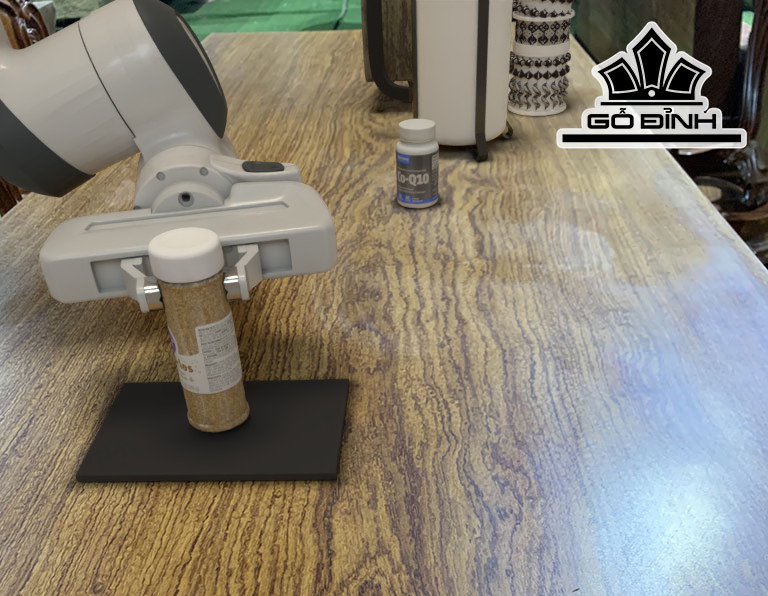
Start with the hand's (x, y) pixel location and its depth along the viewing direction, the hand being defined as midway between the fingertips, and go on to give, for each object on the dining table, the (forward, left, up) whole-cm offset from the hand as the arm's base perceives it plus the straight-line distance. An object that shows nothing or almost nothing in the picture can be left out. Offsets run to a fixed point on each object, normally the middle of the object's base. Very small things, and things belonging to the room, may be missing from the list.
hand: (194, 296), depth 53 cm
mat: (0, +1, -11) cm, 11 cm away
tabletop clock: (+11, +88, -11) cm, 89 cm away
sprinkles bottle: (0, +1, -10) cm, 10 cm away
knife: (+29, +110, -11) cm, 114 cm away
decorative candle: (+31, +82, -11) cm, 88 cm away
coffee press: (+18, +66, -11) cm, 69 cm away
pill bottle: (+14, +46, -11) cm, 49 cm away
